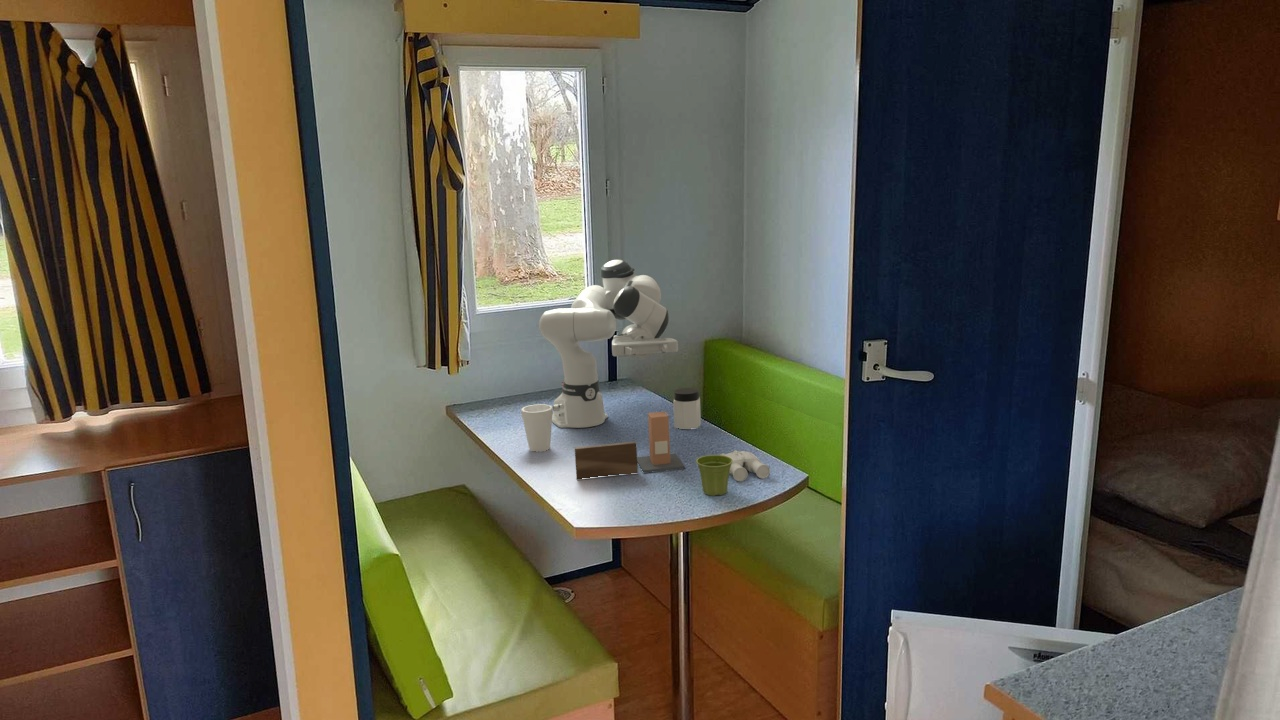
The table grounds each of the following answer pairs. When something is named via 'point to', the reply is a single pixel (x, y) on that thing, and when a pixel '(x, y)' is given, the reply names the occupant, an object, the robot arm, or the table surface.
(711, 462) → the plant pot
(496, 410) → the table surface
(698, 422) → the jar
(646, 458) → the slate pad
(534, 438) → the foam cup
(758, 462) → the binoculars
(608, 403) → the table surface
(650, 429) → the marked block
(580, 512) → the table surface
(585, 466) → the low board
